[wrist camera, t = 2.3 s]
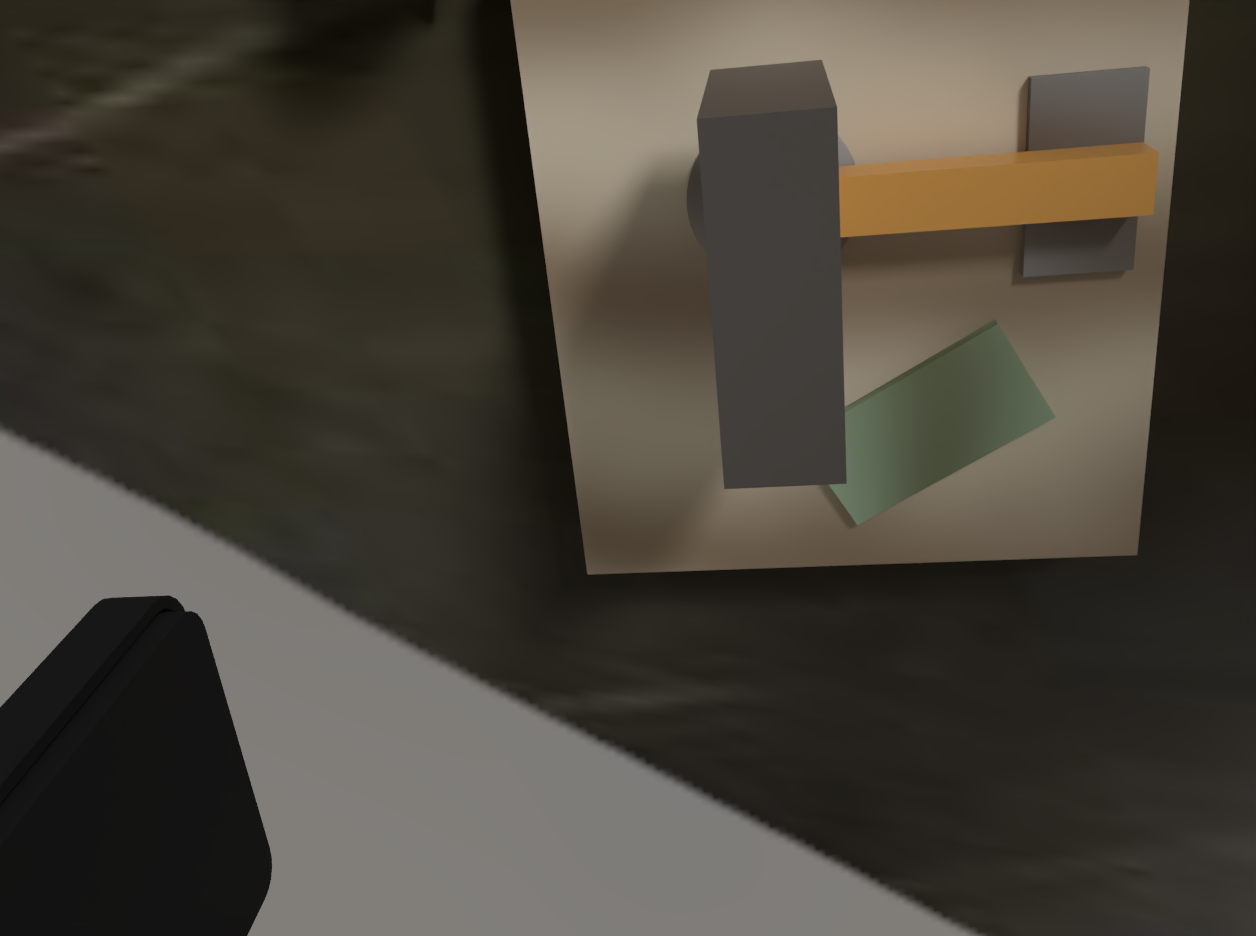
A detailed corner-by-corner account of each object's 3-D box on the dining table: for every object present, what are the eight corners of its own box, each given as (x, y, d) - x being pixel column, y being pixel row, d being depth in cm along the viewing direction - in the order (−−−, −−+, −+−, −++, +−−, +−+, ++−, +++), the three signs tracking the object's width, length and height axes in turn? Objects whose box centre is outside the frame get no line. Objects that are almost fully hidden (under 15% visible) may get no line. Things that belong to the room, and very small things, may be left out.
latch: (729, 340, 26) (717, 489, 20) (709, 54, 24) (690, 119, 17) (1129, 316, 25) (1255, 466, 19) (1154, 12, 23) (1310, 65, 16)
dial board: (521, -94, 25) (494, -90, 23) (1163, -166, 24) (1211, -171, 21) (599, 525, 32) (586, 580, 29) (1109, 504, 30) (1140, 561, 28)
